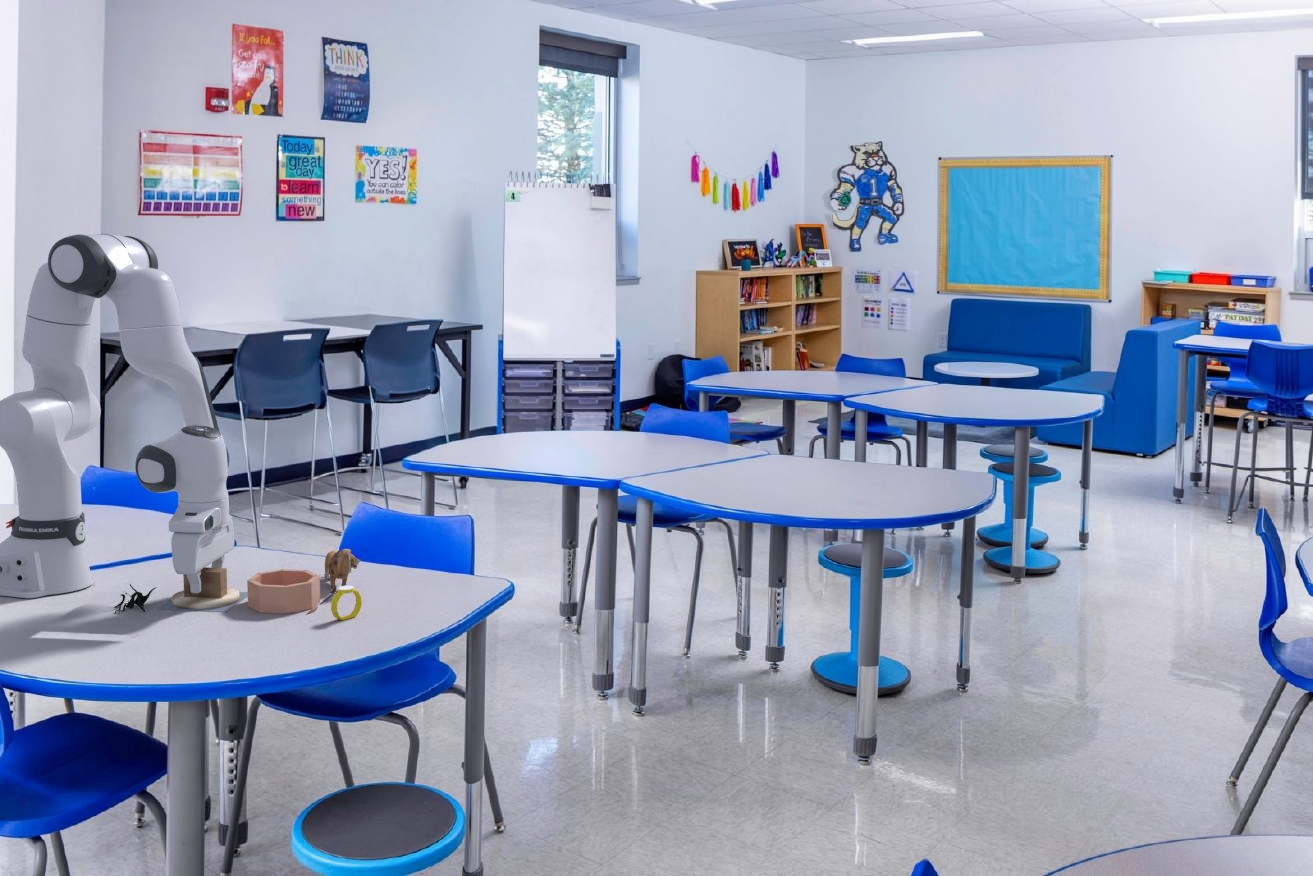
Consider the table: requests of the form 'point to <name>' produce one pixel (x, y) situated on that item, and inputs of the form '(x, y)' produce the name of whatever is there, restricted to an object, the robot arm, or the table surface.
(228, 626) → the table surface
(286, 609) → the octagonal planter
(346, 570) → the lion figurine
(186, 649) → the table surface
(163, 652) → the table surface
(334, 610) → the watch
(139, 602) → the creature
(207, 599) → the lid
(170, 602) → the mat
